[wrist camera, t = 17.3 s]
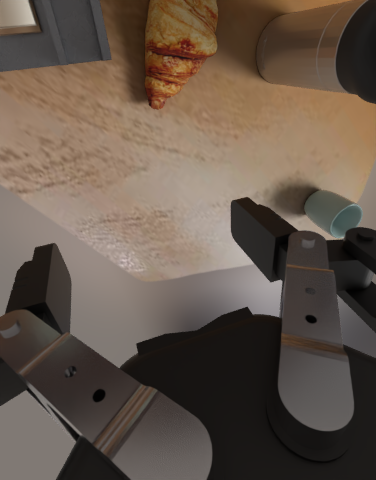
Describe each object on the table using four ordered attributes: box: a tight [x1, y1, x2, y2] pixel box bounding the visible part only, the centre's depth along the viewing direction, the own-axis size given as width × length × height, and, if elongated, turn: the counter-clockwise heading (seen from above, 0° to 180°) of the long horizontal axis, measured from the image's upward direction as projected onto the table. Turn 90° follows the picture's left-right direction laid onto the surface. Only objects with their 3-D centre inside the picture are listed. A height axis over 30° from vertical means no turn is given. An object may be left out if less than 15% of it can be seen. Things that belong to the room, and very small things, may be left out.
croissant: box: [145, 0, 218, 110], centre depth 37 cm, size 21×10×8 cm, turn 155°
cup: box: [304, 190, 363, 238], centre depth 61 cm, size 8×8×10 cm
